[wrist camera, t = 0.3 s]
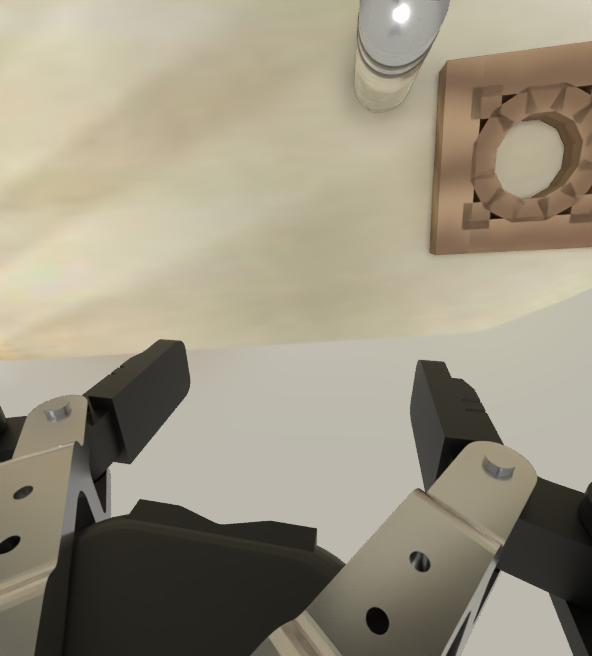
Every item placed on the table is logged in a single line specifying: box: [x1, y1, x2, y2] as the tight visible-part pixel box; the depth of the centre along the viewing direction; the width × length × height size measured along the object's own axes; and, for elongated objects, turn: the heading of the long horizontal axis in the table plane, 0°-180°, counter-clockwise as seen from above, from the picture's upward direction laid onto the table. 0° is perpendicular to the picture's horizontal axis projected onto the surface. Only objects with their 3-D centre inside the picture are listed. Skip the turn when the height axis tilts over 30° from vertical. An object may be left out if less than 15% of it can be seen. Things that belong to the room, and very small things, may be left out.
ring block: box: [430, 41, 592, 255], centre depth 30 cm, size 16×16×2 cm
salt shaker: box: [354, 0, 450, 112], centre depth 25 cm, size 5×5×12 cm
